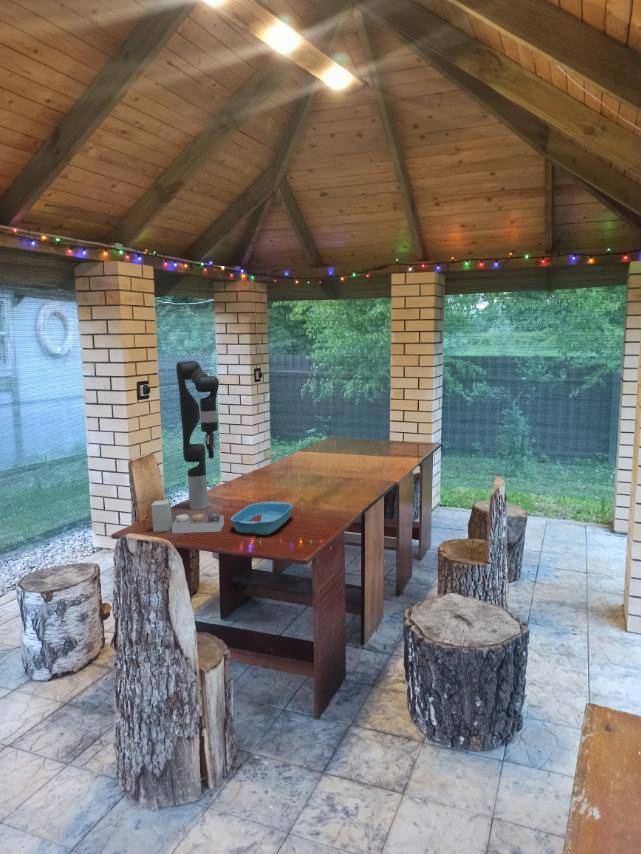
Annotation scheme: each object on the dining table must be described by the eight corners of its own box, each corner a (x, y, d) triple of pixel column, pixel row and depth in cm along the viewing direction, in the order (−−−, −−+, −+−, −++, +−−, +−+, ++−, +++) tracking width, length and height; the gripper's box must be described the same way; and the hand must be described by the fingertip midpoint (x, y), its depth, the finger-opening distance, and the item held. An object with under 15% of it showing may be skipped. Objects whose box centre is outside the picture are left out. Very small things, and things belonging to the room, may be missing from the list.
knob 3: (209, 527, 267) (208, 512, 266) (221, 526, 267) (220, 512, 266) (207, 530, 261) (206, 516, 261) (219, 530, 262) (218, 515, 261)
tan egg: (194, 527, 266) (193, 513, 266) (205, 527, 267) (204, 513, 266) (191, 531, 261) (190, 516, 260) (203, 531, 261) (202, 516, 260)
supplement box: (172, 526, 271) (171, 499, 270) (169, 531, 264) (167, 504, 262) (156, 527, 271) (154, 500, 269) (152, 532, 264) (150, 504, 262)
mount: (178, 527, 270) (177, 516, 269) (224, 525, 270) (223, 515, 269) (172, 535, 258) (171, 524, 257) (220, 533, 258) (219, 522, 258)
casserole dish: (255, 513, 289) (254, 499, 288) (298, 515, 283) (297, 501, 282) (224, 537, 254) (223, 521, 253) (273, 540, 248) (272, 523, 247)
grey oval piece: (178, 528, 266) (177, 514, 265) (190, 528, 266) (189, 513, 266) (176, 532, 261) (175, 517, 260) (187, 531, 261) (186, 517, 260)
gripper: (203, 418, 272) (205, 455, 274) (197, 422, 259) (200, 461, 261) (219, 418, 272) (221, 455, 274) (215, 422, 259) (217, 460, 261)
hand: (211, 458), depth 268 cm, fingers closed
